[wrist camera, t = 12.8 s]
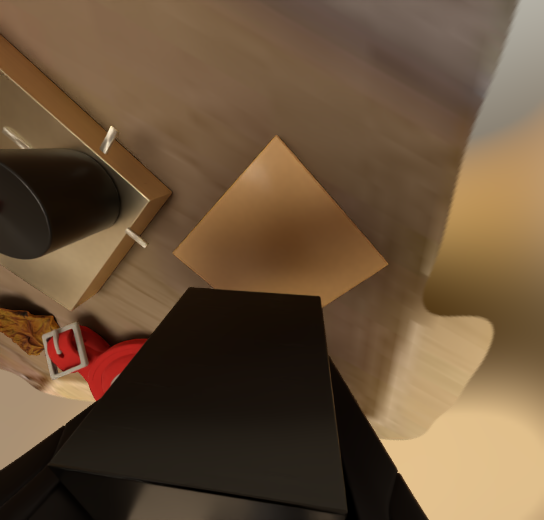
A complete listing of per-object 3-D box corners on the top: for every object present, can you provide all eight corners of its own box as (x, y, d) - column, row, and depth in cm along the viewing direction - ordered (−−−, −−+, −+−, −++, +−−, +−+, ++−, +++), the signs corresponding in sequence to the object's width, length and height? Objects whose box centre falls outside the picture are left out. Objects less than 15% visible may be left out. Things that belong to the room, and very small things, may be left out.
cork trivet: (383, 257, 15) (388, 264, 14) (275, 329, 19) (274, 339, 18) (277, 135, 13) (275, 134, 12) (178, 247, 16) (171, 253, 16)
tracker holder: (193, 354, 20) (172, 440, 22) (199, 325, 24) (181, 400, 26) (22, 334, 17) (18, 436, 19) (63, 305, 21) (56, 392, 23)
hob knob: (134, 193, 12) (59, 215, 8) (100, 244, 14) (25, 281, 10) (58, 127, 11) (-68, 118, 7) (32, 191, 13) (-81, 210, 9)
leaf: (17, 342, 24) (1, 357, 23) (-30, 293, 20) (-53, 307, 19) (78, 344, 24) (65, 358, 23) (43, 295, 20) (25, 309, 19)
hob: (205, 187, 14) (185, 195, 12) (110, 302, 20) (84, 323, 17) (-153, -159, 10) (-303, -259, 7) (-149, 118, 15) (-233, 113, 13)
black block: (320, 295, 7) (349, 514, 3) (310, 385, 9) (317, 597, 5) (189, 286, 8) (44, 465, 3) (205, 373, 10) (127, 558, 5)
